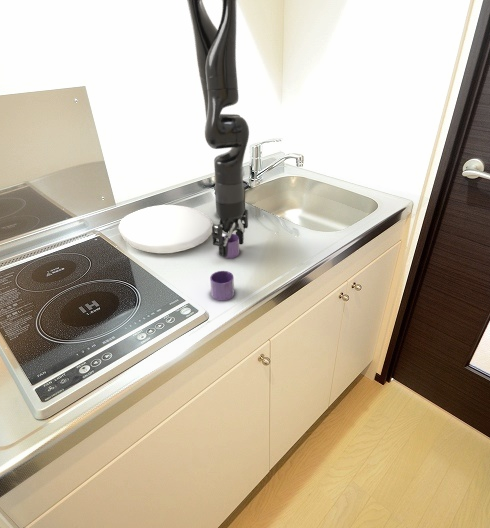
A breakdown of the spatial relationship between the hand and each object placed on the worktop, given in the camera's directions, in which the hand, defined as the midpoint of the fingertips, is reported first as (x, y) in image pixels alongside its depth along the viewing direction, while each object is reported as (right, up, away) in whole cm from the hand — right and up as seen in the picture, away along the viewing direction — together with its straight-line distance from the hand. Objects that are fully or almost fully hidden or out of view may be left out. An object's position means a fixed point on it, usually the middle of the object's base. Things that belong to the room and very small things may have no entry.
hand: (231, 249), depth 106 cm
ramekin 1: (0, -12, -16) cm, 19 cm away
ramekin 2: (-1, -1, +1) cm, 1 cm away
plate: (-21, +5, +9) cm, 23 cm away
